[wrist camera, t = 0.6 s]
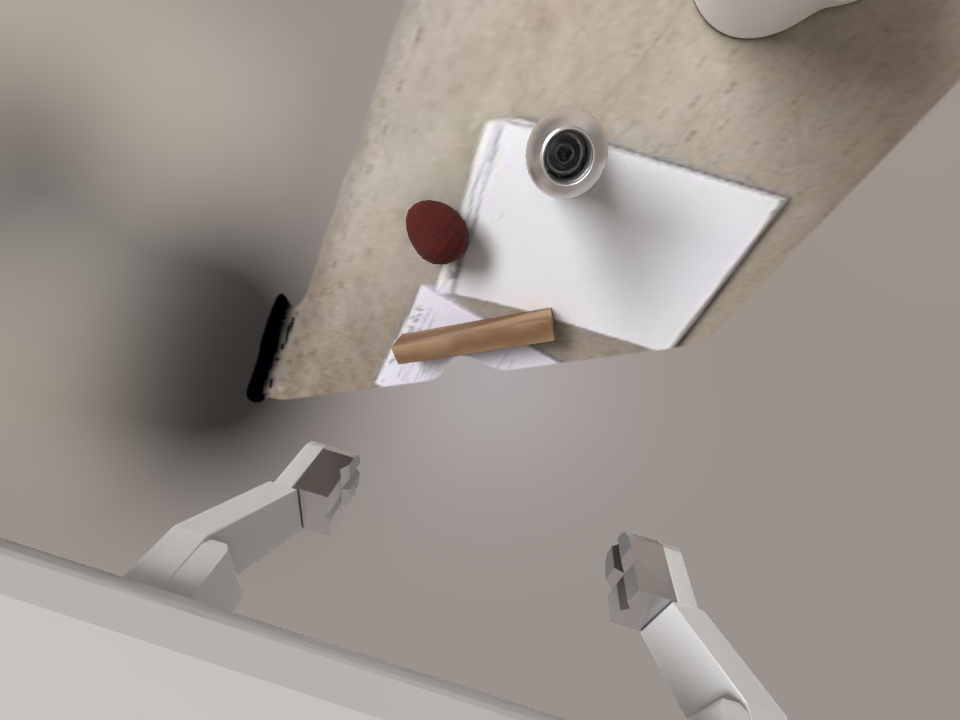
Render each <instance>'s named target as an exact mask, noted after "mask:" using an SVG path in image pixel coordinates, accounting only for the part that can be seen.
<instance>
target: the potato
mask: <svg viewBox="0 0 960 720" xmlns="http://www.w3.org/2000/svg"><path fill="white" fill-rule="evenodd" d="M406 228H407V232H408V236H409V239H410V241H411V243H412V245H413V246H414V248H415V249H416V251H417V253H418V254H419V255H420V256H421V257H422V258H423V259H425V260H426V261H428V262H430V263H432V264H448V263H450V262H453V261H455V260H457V259H458V258H459V257H460V256H461V255H462V254H464V252H465V250H466V248H467V246H468V238H469V234H468V230H467V227H466V223H465V221H464V220H463V219H462V217H461V216H460V215H459V213H458V212H457V211H455V210H454V209H453V208H451V207H450V206H448V205H446V204H444V203H441V202H438V201H432V200H427V201H421V202H418V203H416V204H414V205H413V206H412V207H411V208H410V209H409V210H408V214H407V217H406Z"/></svg>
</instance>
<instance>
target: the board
mask: <svg viewBox="0 0 960 720" xmlns="http://www.w3.org/2000/svg"><path fill="white" fill-rule="evenodd" d="M554 329H555V326H554V321H553V316H552V310H551V308H546V309H541V310H535V311H529V312H524V313H518V314H513V315H507V316H502V317H496V318H490V319H485V320H479V321H474V322H468V323H463V324H457V325H451V326H446V327H440V328H435V329H429V330H423V331H418V332H412V333H407V334H402V335H401V336H400V337H399V339H398V340H397V341H396V342H395V344H394V345H393V346H392V347H391V348H392V351H393V353H394V355H395V358H396V360H397V362H398V364H404V363H411V362H417V361H424V360H430V359H437V358H443V357H450V356H456V355H463V354H470V353H476V352H483V351H489V350H496V349H502V348H509V347H516V346H522V345H529V344H535V343H542V342H548V341H554Z"/></svg>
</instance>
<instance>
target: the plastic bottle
mask: <svg viewBox="0 0 960 720" xmlns="http://www.w3.org/2000/svg"><path fill="white" fill-rule="evenodd" d="M607 155H608V144H607V139H606V135H605V132H604V129H603V127H602V126H601V124H600V123H599V121H598V120H597V119H596V118H595V117H594V116H593V115H592V114H591V113H589V112H587V111H586V110H584V109H580V108H577V107H563V108H559V109H556V110H554V111H551V112H550V113H548V114H547V115H545V116H544V117H543V118H542V119H541V120H540V121H539V122H538V123H537V124H536V126H535V127H534V129H533V130H532V133H531V135H530V137H529V139H528V143H527V147H526V165H527V169H528V173H529V175H530V177H531V179H532V181H533V182H534V184H535V185H536V186H537V188H539V189H540V190H541V191H542V192H543V193H545V194H547V195H549V196H551V197H554V198H559V199H568V198H573V197H576V196H579V195H581V194H583V193H585V192H586V191H588V190H589V189H590V188H591V187H592V186H593V185H594V184H595V183H596V182H597V181H598V179H599V177H600V176H601V174H602V172H603V170H604V167H605V164H606V160H607Z"/></svg>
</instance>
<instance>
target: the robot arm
mask: <svg viewBox="0 0 960 720" xmlns="http://www.w3.org/2000/svg"><path fill="white" fill-rule="evenodd" d="M854 1H857V0H695V3H696V5H697V7H698V9H699V11H700V13H701V14H702V15H703V17H704V18H705V19H706V20H707V22H708V23H709V24H711V25H712V26H713V27H714V28H715V29H717V30H719V31H720V32H722V33H724V34H727V35H730V36H733V37H737V38H759V37H764V36H769V35H772V34H775V33H778V32H781V31H783V30H785V29H787V28H790V27H791V26H793V25H795V24H797V23H799V22H800V21H802V20H804V19H805V18H807V17H809V16H810V15H812V14H814V13H816V12H817V11H819V10H822V9H824V8H828V7H834V6H839V5H844V4H848V3H851V2H854ZM359 463H360V456H359V455H356V454H353V453H350V452H347V451H344V450H341V449H337V448H334V447H331V446H328V445H325V444H321V443H318V442H314V441H311V442H309V443H308V444H306V445H305V447H304V448H303V449H302V450H301V452H299V454H298V455H297V456H296V457H295V458H294V460H293V461H292V462H291V463H290V464H289V466H288V467H287V468H286V469H285V470H284V472H283V473H282V474H281V475H280V476H279V477H278V479H277V480H276V481H275V482H271V481H269V482H267V483H264V484H262V485H260V486H258V487H256V488H254V489H252V490H250V491H247V492H245V493H243V494H241V495H239V496H237V497H235V498H232V499H230V500H228V501H226V502H224V503H222V504H220V505H218V506H215V507H213V508H211V509H209V510H207V511H205V512H203V513H200V514H198V515H196V516H194V517H192V518H190V519H188V520H186V521H183V522H181V523H179V524H177V525H175V526H174V527H173V528H172V529H171V530H170V531H168V532H167V534H165V536H164V537H162V538H161V539H160V540H159V541H158V542H157V544H155V545H154V546H153V547H152V548H151V549H150V550H149V551H148V552H147V553H146V554H145V555H144V556H143V557H142V558H141V559H140V560H139V561H138V562H137V563H136V564H135V565H134V566H133V567H132V568H131V569H130V570H129V571H128V572H127V573H126V574H125V575H124V576H123V577H122V576H119V575H116V574H113V573H110V572H107V571H103V570H100V569H97V568H94V567H91V566H87V565H85V564H81V563H78V562H75V561H72V560H69V559H65V558H63V557H59V556H56V555H53V554H50V553H47V552H43V551H40V550H37V549H34V548H31V547H28V546H25V545H22V544H19V543H16V542H13V541H10V540H7V539H4V538H1V537H0V720H568V719H565V718H562V717H559V716H556V715H552V714H549V713H546V712H543V711H540V710H537V709H534V708H531V707H528V706H524V705H521V704H518V703H515V702H512V701H509V700H506V699H503V698H500V697H497V696H493V695H490V694H487V693H484V692H481V691H478V690H475V689H471V688H468V687H465V686H462V685H459V684H456V683H452V682H450V681H447V680H444V679H440V678H437V677H434V676H431V675H428V674H425V673H422V672H419V671H415V670H412V669H409V668H406V667H403V666H400V665H397V664H393V663H391V662H387V661H384V660H381V659H378V658H375V657H372V656H369V655H366V654H362V653H359V652H356V651H353V650H350V649H347V648H343V647H340V646H337V645H334V644H331V643H328V642H325V641H322V640H319V639H315V638H312V637H309V636H306V635H303V634H300V633H297V632H294V631H291V630H288V629H284V628H281V627H278V626H275V625H272V624H269V623H266V622H263V621H259V620H256V619H253V618H250V617H247V616H244V615H241V614H238V613H234V610H235V609H236V607H237V606H238V604H239V603H240V601H241V600H242V598H243V597H244V595H243V589H242V586H241V583H240V581H239V578H238V574H239V573H241V572H242V571H244V570H245V569H246V568H248V567H250V566H251V565H252V564H254V563H255V562H257V561H258V560H260V559H261V558H262V557H264V556H265V555H267V554H268V553H270V552H271V551H272V550H274V549H275V548H277V547H278V546H280V545H281V544H283V543H284V542H286V541H287V540H288V539H290V538H291V537H293V536H294V535H296V534H297V533H299V532H300V531H301V530H302V528H304V529H307V530H311V531H314V532H318V533H322V534H326V535H329V536H330V535H331V533H332V532H333V530H334V528H335V526H336V525H337V523H338V521H339V520H340V518H341V516H342V507H343V506H345V505H346V504H348V503H349V502H350V501H351V499H352V497H353V495H354V493H355V491H356V488H357V486H358V482H359V475H360V474H359V471H358V470H357V467H358V465H359ZM618 543H619V544H617V545H614V546H612V547H611V548H610V550H609V551H608V553H607V557H606V561H605V575H606V580H607V581H608V583H609V585H610V586H611V588H612V590H611V591H610V593H609V594H608V601H609V610H610V619H611V621H612V622H615V623H618V624H621V625H624V626H627V627H630V628H633V629H636V630H639V631H641V635H642V637H643V639H644V641H645V643H646V644H647V646H648V648H649V650H650V652H651V654H652V656H653V658H654V659H655V661H656V663H657V665H658V667H659V669H660V671H661V672H662V674H663V676H664V678H665V680H666V682H667V684H668V686H669V687H670V689H671V691H672V693H673V695H674V697H675V699H676V701H677V702H678V704H679V706H680V708H681V710H682V712H683V714H684V715H685V717H686V719H685V720H788V719H787V717H786V715H785V714H784V713H783V711H782V710H781V709H780V707H779V706H778V705H777V704H776V702H775V701H774V700H773V699H772V697H771V696H770V695H769V693H768V692H767V691H766V690H765V688H764V687H763V686H762V685H761V683H760V682H759V681H758V679H757V678H756V677H755V676H754V674H753V673H752V672H751V671H750V669H749V668H748V667H747V665H746V664H745V663H744V662H743V660H742V659H741V658H740V657H739V655H738V654H737V653H736V651H735V650H734V649H733V648H732V646H731V645H730V644H729V642H728V641H727V640H726V639H725V637H724V636H723V635H722V633H721V632H720V631H719V630H718V628H717V627H716V626H715V625H714V623H713V622H712V621H711V619H710V618H709V617H708V616H707V614H706V613H705V612H704V611H702V610H700V609H698V606H697V603H696V600H695V597H694V594H693V590H692V587H691V584H690V581H689V578H688V574H687V571H686V568H685V564H684V561H683V558H682V555H681V552H680V550H679V549H678V548H677V547H676V546H673V545H669V544H665V543H662V542H658V541H657V540H653V539H649V538H645V537H642V536H638V535H634V534H631V533H627V532H623V533H621V534H620V536H619V537H618Z"/></svg>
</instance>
